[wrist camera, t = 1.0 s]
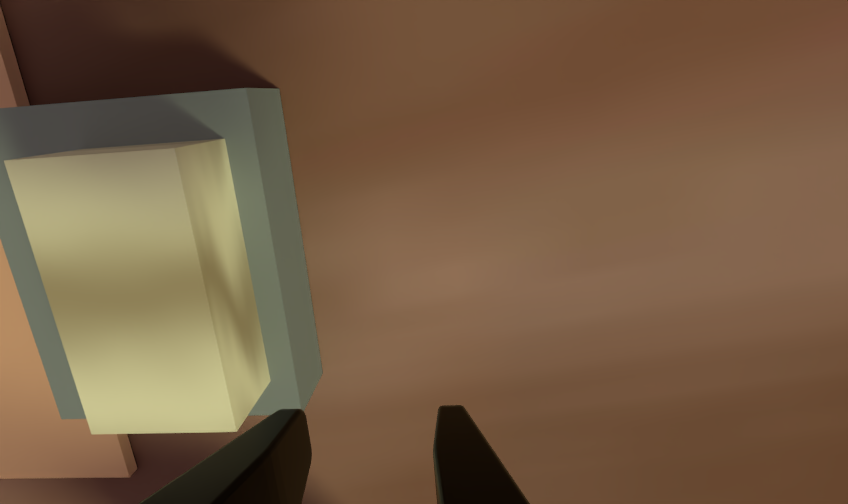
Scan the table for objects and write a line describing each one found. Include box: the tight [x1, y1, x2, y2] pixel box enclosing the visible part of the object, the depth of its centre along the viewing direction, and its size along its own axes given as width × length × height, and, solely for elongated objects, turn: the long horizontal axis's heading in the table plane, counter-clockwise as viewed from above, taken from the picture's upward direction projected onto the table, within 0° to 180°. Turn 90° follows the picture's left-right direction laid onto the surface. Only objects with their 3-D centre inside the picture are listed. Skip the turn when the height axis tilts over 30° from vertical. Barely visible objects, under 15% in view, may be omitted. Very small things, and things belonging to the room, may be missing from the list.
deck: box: [0, 88, 323, 419], centre depth 19 cm, size 12×10×3 cm
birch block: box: [4, 139, 271, 434], centre depth 16 cm, size 9×5×3 cm, turn 4°
